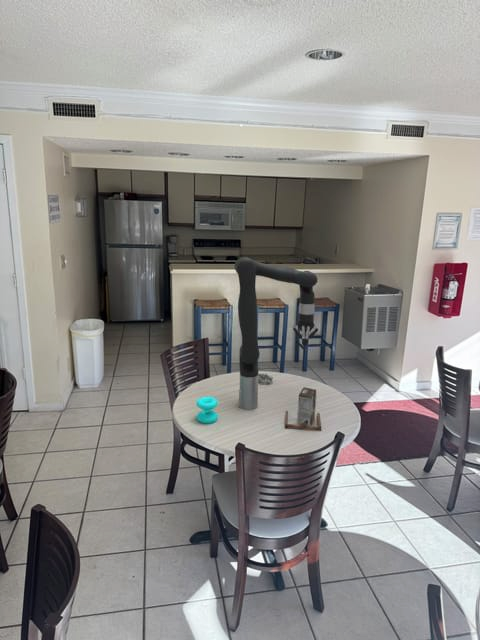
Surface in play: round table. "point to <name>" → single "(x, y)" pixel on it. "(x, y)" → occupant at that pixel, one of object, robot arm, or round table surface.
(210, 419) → the turquoise spool
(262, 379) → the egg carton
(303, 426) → the open wooden frame
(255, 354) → the robot arm
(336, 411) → the round table surface
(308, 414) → the coffee box
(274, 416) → the round table surface
